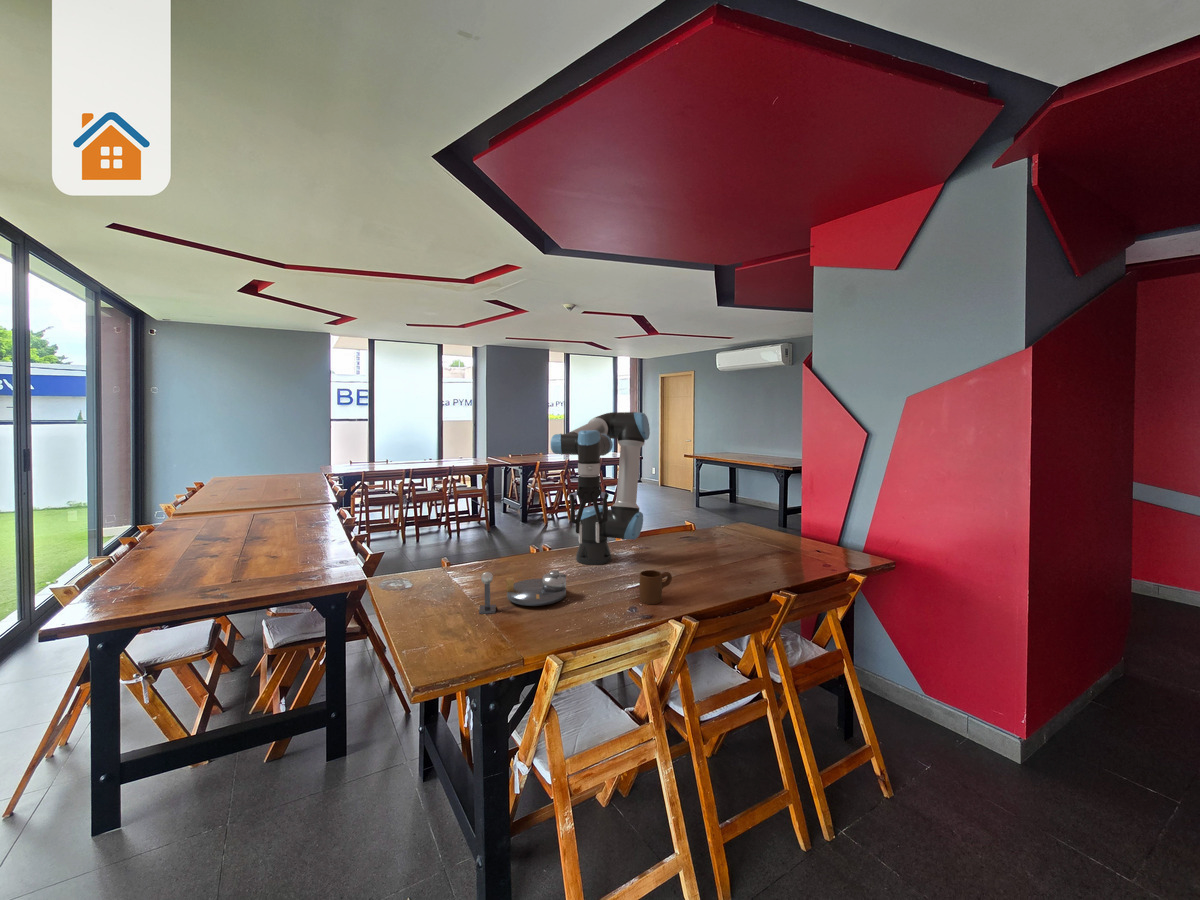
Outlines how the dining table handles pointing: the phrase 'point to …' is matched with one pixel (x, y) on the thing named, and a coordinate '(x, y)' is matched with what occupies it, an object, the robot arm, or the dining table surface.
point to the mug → (652, 586)
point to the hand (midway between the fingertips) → (588, 541)
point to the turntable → (531, 592)
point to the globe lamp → (487, 594)
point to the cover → (554, 581)
